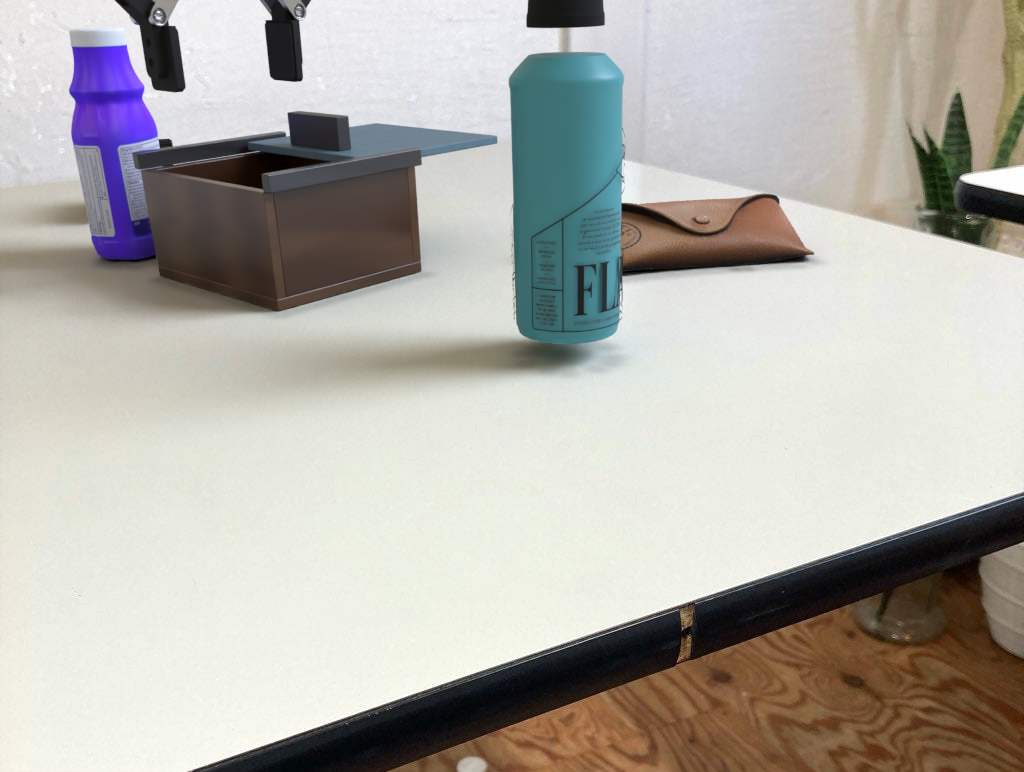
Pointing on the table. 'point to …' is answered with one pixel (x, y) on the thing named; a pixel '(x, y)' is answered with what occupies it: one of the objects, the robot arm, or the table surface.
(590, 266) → the beverage bottle
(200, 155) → the box
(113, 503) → the table surface
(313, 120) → the lid
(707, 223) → the sunglasses case
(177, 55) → the robot arm
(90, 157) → the bottle
